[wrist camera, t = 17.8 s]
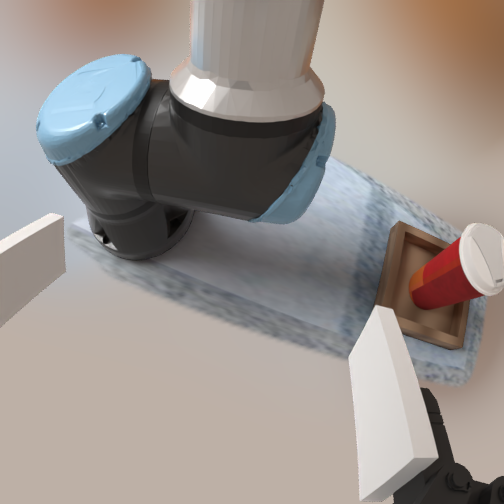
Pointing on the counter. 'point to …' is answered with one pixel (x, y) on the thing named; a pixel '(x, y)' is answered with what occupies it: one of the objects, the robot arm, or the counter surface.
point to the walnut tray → (397, 289)
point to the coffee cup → (461, 270)
